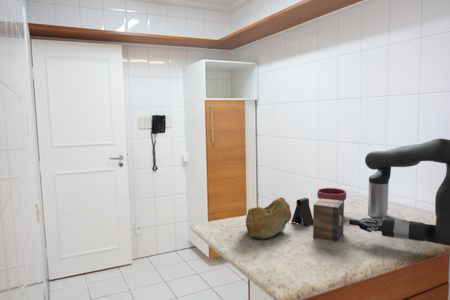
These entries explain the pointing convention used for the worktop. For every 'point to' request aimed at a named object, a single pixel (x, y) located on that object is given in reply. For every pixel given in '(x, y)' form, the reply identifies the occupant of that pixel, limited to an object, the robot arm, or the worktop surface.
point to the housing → (328, 219)
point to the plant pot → (332, 194)
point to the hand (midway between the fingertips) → (349, 221)
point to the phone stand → (303, 213)
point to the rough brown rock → (268, 219)
